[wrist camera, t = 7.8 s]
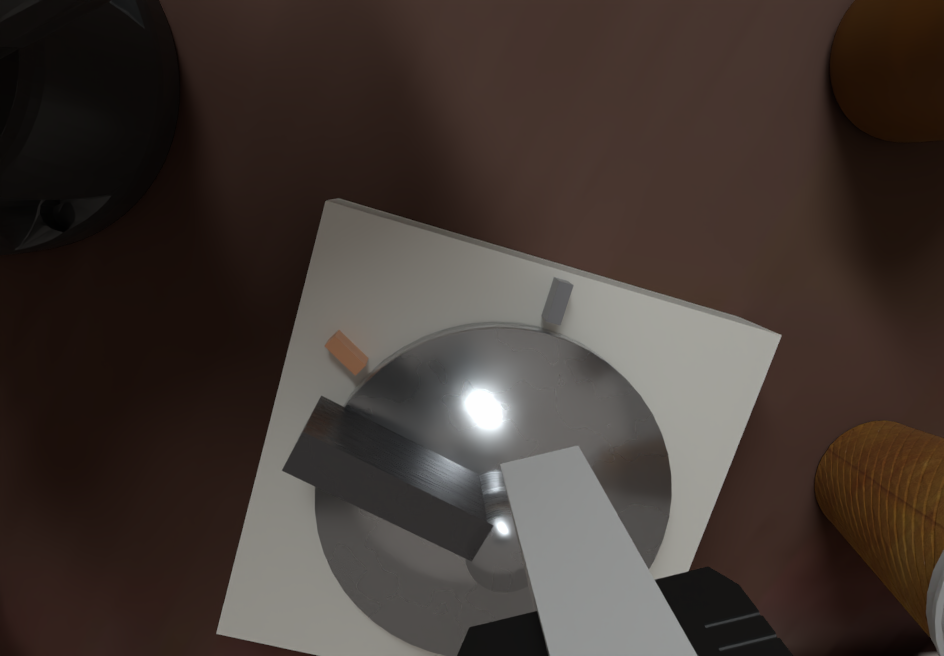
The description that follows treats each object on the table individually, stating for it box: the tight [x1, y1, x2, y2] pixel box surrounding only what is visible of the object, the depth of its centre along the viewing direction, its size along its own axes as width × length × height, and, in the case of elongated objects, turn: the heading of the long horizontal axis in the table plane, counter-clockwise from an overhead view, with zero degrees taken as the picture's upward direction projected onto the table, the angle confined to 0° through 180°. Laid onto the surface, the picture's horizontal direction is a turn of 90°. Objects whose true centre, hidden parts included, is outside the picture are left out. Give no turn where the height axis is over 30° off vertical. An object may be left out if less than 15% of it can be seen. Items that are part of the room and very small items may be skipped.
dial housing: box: [216, 198, 782, 656], centre depth 31 cm, size 20×20×5 cm
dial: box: [282, 322, 672, 656], centre depth 27 cm, size 16×15×5 cm
